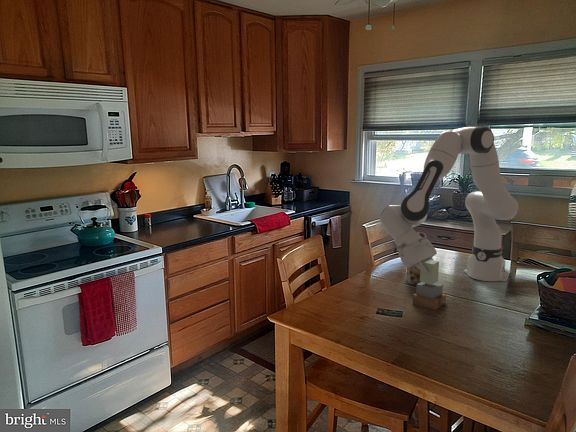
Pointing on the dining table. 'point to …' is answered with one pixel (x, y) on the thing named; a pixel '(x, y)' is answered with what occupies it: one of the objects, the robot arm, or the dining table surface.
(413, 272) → the coffee box
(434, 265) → the sage block
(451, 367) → the dining table surface
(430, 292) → the tower top
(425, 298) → the tower base
